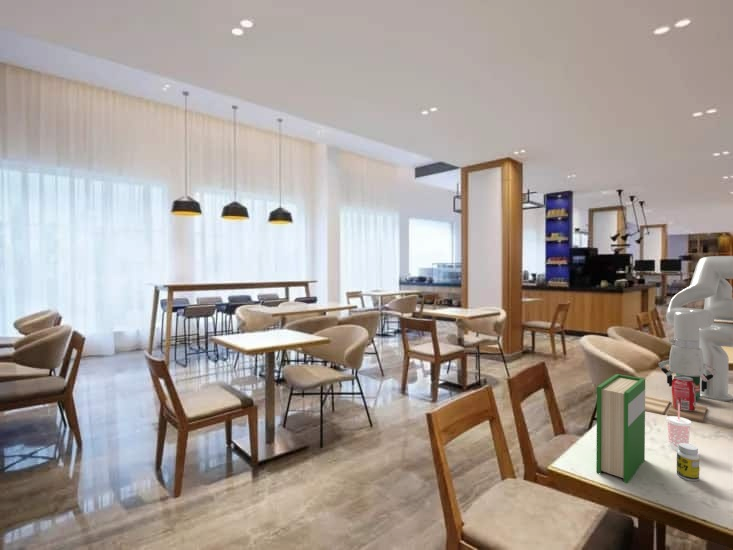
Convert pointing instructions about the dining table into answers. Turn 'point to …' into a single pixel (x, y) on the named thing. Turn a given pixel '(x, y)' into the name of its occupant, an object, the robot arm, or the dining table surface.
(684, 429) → the beverage cup
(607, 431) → the hardback book
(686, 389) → the soda can
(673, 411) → the plank
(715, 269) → the robot arm
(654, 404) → the flat tan panel
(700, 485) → the dining table surface
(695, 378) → the canned tomato
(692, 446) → the supplement bottle
